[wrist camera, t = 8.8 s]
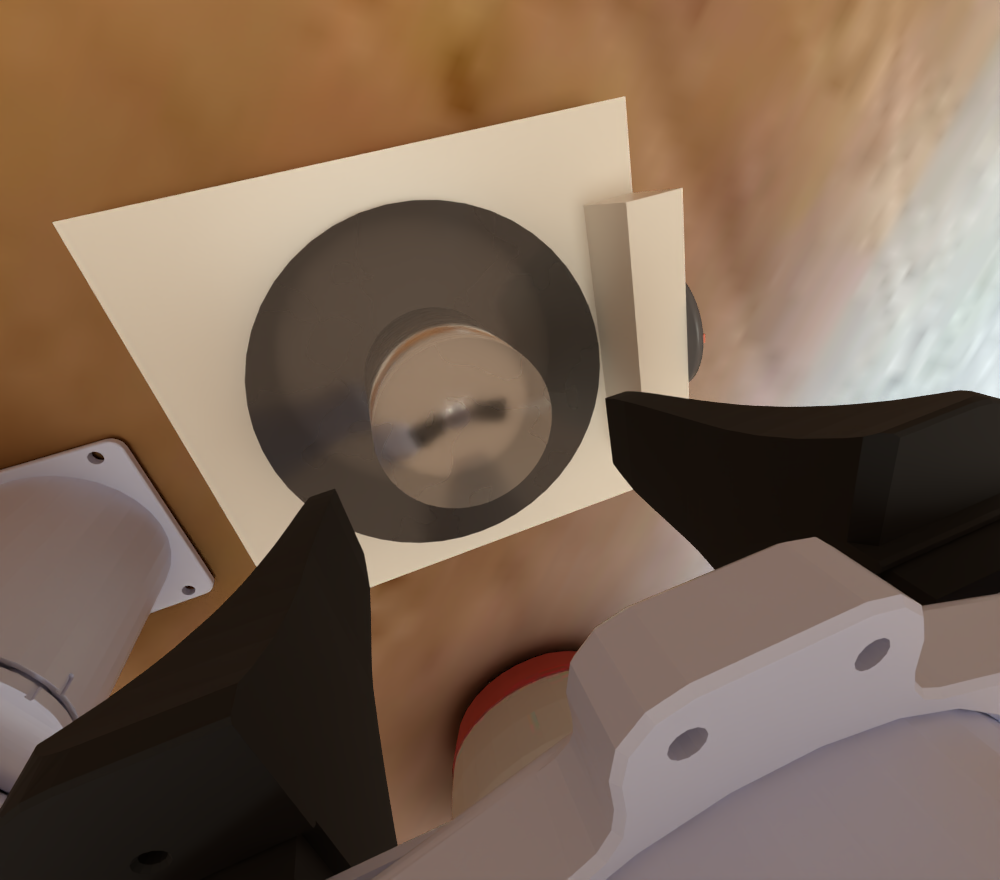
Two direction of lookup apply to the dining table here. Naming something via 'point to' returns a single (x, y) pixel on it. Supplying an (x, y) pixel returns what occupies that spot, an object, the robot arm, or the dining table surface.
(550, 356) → the pan
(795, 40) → the dining table surface
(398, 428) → the cylinder
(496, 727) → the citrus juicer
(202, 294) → the base
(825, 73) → the dining table surface
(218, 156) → the dining table surface
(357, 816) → the robot arm
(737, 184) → the dining table surface
